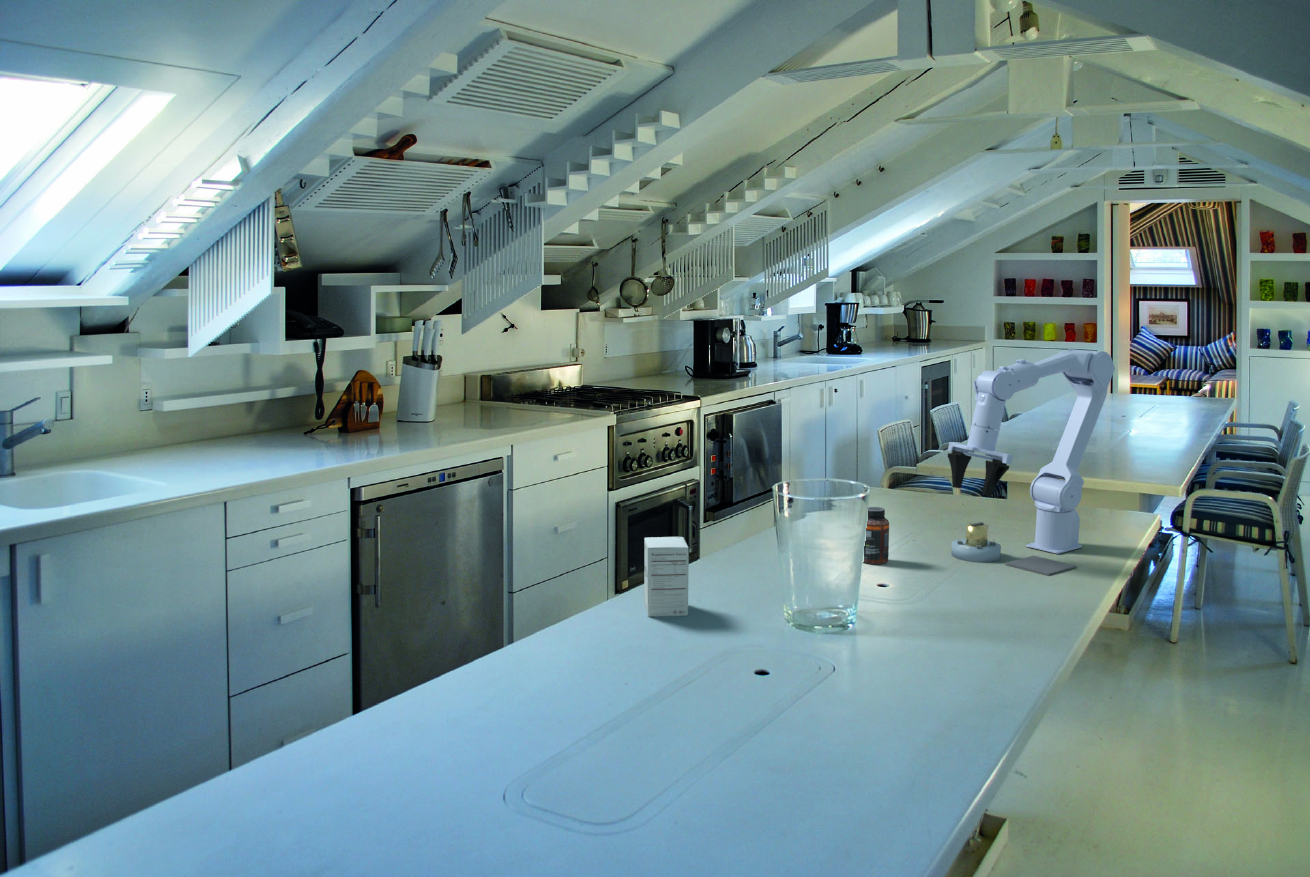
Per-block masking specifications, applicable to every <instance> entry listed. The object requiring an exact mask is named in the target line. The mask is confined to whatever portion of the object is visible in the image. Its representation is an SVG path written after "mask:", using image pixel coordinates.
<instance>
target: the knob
mask: <svg viewBox="0 0 1310 877" xmlns="http://www.w3.org/2000/svg"><path fill="white" fill-rule="evenodd" d="M988 537H989V524H987V523H986V524H985V523H984V522H983V521H982V522H981V521H980V522H979V521H978V522H968V523H967V524H966V526H965V539H966V541H965V544H966V545H968V546H972V547H976V545H981V546H982V547H986V546H987V542H988V541H989V538H988Z"/></svg>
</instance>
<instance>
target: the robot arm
mask: <svg viewBox="0 0 1310 877" xmlns="http://www.w3.org/2000/svg"><path fill="white" fill-rule="evenodd" d="M1115 369H1116V367H1115V364H1114V362H1113V359H1112V356H1111V355H1110V354H1109V353H1108V352H1107V351H1103V350H1101V351H1097V350H1096V351H1095V350H1083V349H1076V348H1069V349H1065V350H1061V351H1059V353H1056V354H1053V355H1050V356H1049V357H1047V358H1043V359H1041V360H1038V361H1035V362H1032V361H1031V360H1027V359H1022V358H1019V359H1016V361H1015V363H1014V364H1010V365H1008V366H1007V365H1000V366H998V369H996V370H991V369H990V370H989V369H988V370H983V371H982V372H981V373H980V374H979V375H978V377H977V378H976V380H974V381H973V388H974V393H975V396H974V397H975V398H974V401H975V406H974V410H973V415H972V420H971V426H970V431H969V434H968V440H967V444H962V443H957V442H952V441H949V443H948V447H947V451H948V453H947V457H948V461H949V464H950V468H951V470H950V471H951V482H952V483H951V484H952V485H951V486H952V488H956V489H961V488H962V485H963V482H964V477H965V473H966V470H967V468H968V465H969V463H970V461H971V460H972V457H975V458H981V459H985V462H984V463H985V478H984V484H983V488H982V495H983V496H987V497H988V496H989V497H992V494H993V492H994V490H995V489H996V487H997V485H998V483H999V481H1000V480H1001V478H1003V476H1004V475H1005V473H1007V471H1008V470H1009V469H1010V465H1012V464H1013V458H1014V455H1013V454H1008V453H1004V452H999V451H996V447H997V443H998V439H999V434H1000V430H1001V429H1000V428H1001V425H1002V422H1003V416H1004V411H1005V407H1006V402H1007V400H1010V399H1011V398H1012V397H1013V396H1014V394H1016V393H1018V392H1020V391H1024V390H1027V389H1029V388H1032V387H1033V388H1034V387H1035V386H1036V385H1037V384H1038V382H1039V380H1040V379H1041V378H1045V377H1049V376H1053V375H1057V374H1059V373H1061V374H1062V375H1063V376H1064V378H1065V379H1066V381H1067V382H1068V384H1070V387H1072V388H1073V390H1075V392H1076V394H1077V398H1076V400H1075V403H1074V405H1073V407H1072V411H1071V414H1070V415H1069V419H1068V421H1067V423H1066V425H1065V428H1064V431H1063V434H1062V436H1061V439H1060V441H1059V444H1058V445H1057V449H1056V451H1055V454H1054V456H1053V459H1052V461H1051V462H1050V463H1048V464H1046V465H1044V466H1042V467H1041V468H1040V469H1039V472H1038V474H1037V475H1036V477H1034V479H1033V480H1032V481H1031V484H1030V486H1029V487H1030V488H1029V495H1030V497H1031V500H1033V502H1034V506H1035V507H1036V515H1035V516H1036V520H1035V532H1034V534H1035V535H1034V542H1030V543H1028V544H1027V543H1026V545H1025V547H1027V548H1031V549H1036V550H1040V551H1044V552H1047V553H1048V552H1049V553H1053V554H1058V555H1060V554H1063V553H1066V552H1070V551H1073V550H1074V551H1075V550H1077V549H1081V548H1083V547H1082V545H1081V544H1079V539H1080V538H1079V537H1080V522H1081V520H1080V518H1081V517H1080V516H1079V513H1078V511H1077V510H1076V508H1077V507H1078V506H1079V504H1080V502H1081V500H1082V491H1083V490H1082V489H1083V487H1084V483H1085V481H1084V479H1083V477H1082V476H1081V473H1080V472H1079V471H1078V470H1079V468H1080V465H1081V462H1082V460H1083V457H1084V454H1085V452H1086V451H1087V450H1086V449H1087V447H1088V445H1089V442H1090V440H1091V437H1092V435H1093V431H1094V429H1095V427H1096V424H1097V421H1098V419H1099V416H1100V414H1101V411H1102V409H1103V406H1104V403H1105V400H1106V398H1107V394H1108V387H1109V385H1110V383H1111V380H1112V378H1113V375H1114V372H1115ZM975 452H976V453H981V454H982V455H981V454H976V453H975ZM983 454H985V455H983Z"/></svg>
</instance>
